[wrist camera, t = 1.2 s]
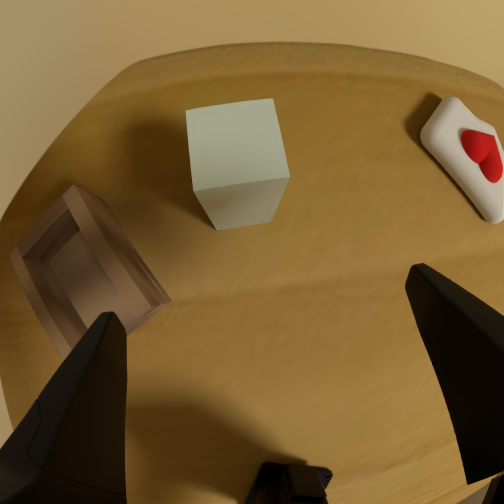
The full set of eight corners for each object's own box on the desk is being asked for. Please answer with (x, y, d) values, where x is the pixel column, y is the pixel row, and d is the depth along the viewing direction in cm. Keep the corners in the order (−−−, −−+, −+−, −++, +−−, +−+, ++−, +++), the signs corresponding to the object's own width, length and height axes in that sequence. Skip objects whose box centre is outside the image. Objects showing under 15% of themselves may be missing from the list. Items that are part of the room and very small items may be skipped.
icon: (534, 161, 19) (515, 225, 18) (510, 172, 24) (487, 231, 23) (464, 74, 20) (433, 120, 19) (444, 93, 24) (410, 141, 23)
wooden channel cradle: (172, 301, 21) (152, 306, 16) (101, 357, 21) (71, 373, 16) (103, 200, 22) (74, 183, 17) (42, 260, 21) (8, 255, 16)
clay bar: (270, 222, 22) (289, 177, 12) (216, 230, 22) (193, 191, 12) (261, 171, 22) (272, 98, 12) (209, 179, 22) (185, 110, 12)
